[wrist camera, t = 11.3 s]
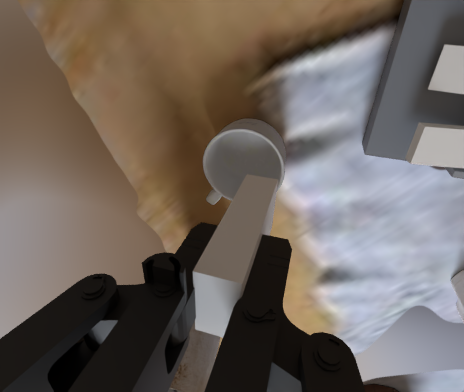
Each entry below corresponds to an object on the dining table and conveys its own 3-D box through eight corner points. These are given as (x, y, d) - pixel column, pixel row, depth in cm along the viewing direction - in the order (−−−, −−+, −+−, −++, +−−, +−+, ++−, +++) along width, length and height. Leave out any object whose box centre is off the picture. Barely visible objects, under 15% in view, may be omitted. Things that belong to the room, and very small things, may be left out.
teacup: (261, 96, 41) (247, 110, 34) (306, 157, 43) (301, 182, 36) (194, 150, 48) (171, 171, 41) (236, 200, 50) (221, 227, 44)
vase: (271, 267, 56) (232, 440, 32) (215, 286, 62) (149, 441, 39) (233, 214, 52) (159, 364, 29) (178, 239, 59) (81, 379, 35)
